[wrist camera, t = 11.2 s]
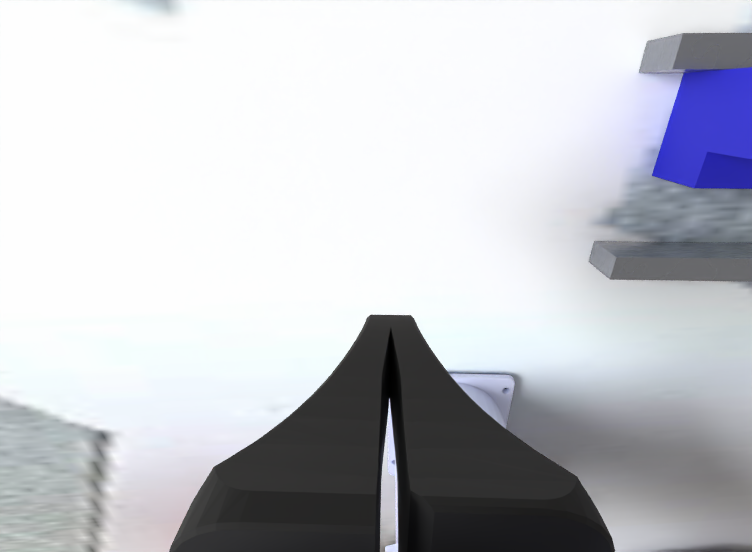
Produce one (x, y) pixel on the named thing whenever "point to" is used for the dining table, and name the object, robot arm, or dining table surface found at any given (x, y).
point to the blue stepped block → (710, 131)
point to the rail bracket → (683, 256)
